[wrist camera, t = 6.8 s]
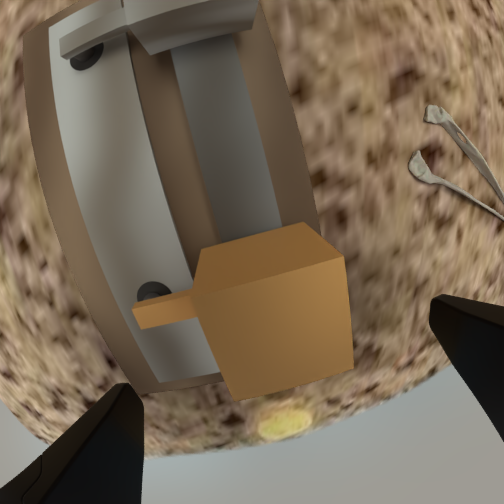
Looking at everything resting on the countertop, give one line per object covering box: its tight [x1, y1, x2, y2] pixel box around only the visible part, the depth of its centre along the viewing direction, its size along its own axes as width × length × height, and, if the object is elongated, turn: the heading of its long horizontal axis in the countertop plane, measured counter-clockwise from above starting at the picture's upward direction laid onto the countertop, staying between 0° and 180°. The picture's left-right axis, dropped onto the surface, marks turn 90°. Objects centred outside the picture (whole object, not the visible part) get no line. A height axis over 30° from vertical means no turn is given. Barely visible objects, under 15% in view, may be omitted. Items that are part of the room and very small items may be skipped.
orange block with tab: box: [131, 222, 354, 402], centre depth 10 cm, size 8×4×5 cm, turn 104°
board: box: [23, 0, 321, 395], centre depth 10 cm, size 12×22×5 cm, turn 14°
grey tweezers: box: [408, 105, 504, 220], centre depth 15 cm, size 17×5×2 cm, turn 69°
